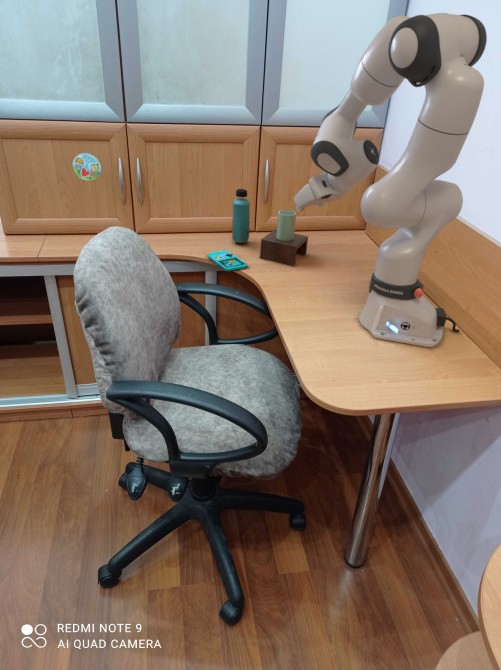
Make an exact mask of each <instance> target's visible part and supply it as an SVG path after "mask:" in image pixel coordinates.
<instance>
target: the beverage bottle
mask: <svg viewBox="0 0 501 670" xmlns="http://www.w3.org/2000/svg"><path fill="white" fill-rule="evenodd" d="M235 197H237V198H235V199H234V200H233V201H232V221H231V222H232V225H231V226H232V227H231V236H232V237H231V240H232V241H234V242H236V243H246V242H248V241H249V239H250V222H251V221H250V219H251V218H250V217H251V212H250V211H251V210H250V209H251V202H250V201H249V200H248V198H247V197H248V189H246V188H238V189H236V190H235Z"/></svg>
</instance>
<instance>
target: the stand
mask: <svg viewBox="0 0 501 670" xmlns="http://www.w3.org/2000/svg"><path fill="white" fill-rule="evenodd" d="M276 233H277V229H273V230H272V231H270V232H269V233H267V234H266V235H265V236H264V237H262V238H261V239H260V249H259V250H260V251H259V252H260V253H259V259H262V260H267V261H271V262H275V263H280V264H284V265H287V266H292V267H295V266H296V260H297V255H299V256H306V255H307V250H308V241H309V235H303V234H299V233H295V232H294V239H293V240H291V241H282V240H279V239H277V238H276Z"/></svg>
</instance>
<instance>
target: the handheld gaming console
mask: <svg viewBox="0 0 501 670" xmlns="http://www.w3.org/2000/svg"><path fill="white" fill-rule="evenodd" d="M207 258H208V259H209V260H211V261H212V262H213V263H214V264H216V265H217V266H219V267H220V268H221V269H223V270H224V271H226V272H233V271H235V270H240V269H245V268H247V267H248V263H246V262H245V261H244V260H242V259H241V258H240V257H238V256H236V255H235V254H233V253H232V252H230V251H229V250H227V249H224V250H223V249H222V250H218V251H211V252H210V253H208V254H207Z"/></svg>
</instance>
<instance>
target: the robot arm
mask: <svg viewBox="0 0 501 670" xmlns="http://www.w3.org/2000/svg"><path fill="white" fill-rule="evenodd" d="M487 40H488V36H487V29H486V27H485V25H484V23H483V22H482V21H481V20H479V18H477V17H474V16H473V15H469V14H452V13H447V12H437V13H430V14H426V15H425V14H417V15H414V16H407V15H396V16H393V17H392V18H390V19H389V20H388V21H387V22H386V23H385V24H384V25H383V26H382V28H380V30H379V31H378V32H377V33H376V35H375V36H374V38H373V39H372V40H371V42H370V43H369V45H368V46H367V47H366V49H365V50H364V51H363V54H362V56H361V57H360V59H359V61H358V63H357V65H356V66H355V69H354V71H353V74H352V76H351V79H350V82H349V84H350V88H349V89H348V91H347V93H346V94H345V95H344V97H343V99H342V100H341V102H340V103H339V104H338V105H337V106H336V107H334V108H333V109H331V110H330V111H328V112H327V113H326V114H325V115H324V116H323V117H322V120H321V122H320V123H321V124H320V126H319V129H318V132H317V134H316V136H315V139H314V141H313V144H312V146H311V149H310V158H311V160H312V162H313V163H314V165H315V166H316V167H318V168H319V169H321V170H322V171H323V172H321V173H319V174H317V175H314V176H312V177H311V178H310V179H309V180H308V183H307V184H305V185H304V186H303V187H302V188H301V189H300V190H299V191H298V192H297V193H296V194H295V195H294V197H293V201H294V203H295V205H296V206H295V209H296V211H297V212H302V211H304V209H305V208H309V207H312V206H317V207H323V206H324V205H325V204H328V203H330V202H335V201H339V200H341V199H344V197H346V196H347V195H348V194H349V193H350V192H351V191H352V190H353V189H354V188H355V186H356V185H357V184H360V183H361V182H363V181H364V180H365V179H366V178H367V177H369V176H370V175H371V174H372V173H373V172H374V171H375V170H376V168H377V167H378V164H379V161H380V154H379V150H378V147H377V146H376V145H375V143H374V142H373V141H371V140H370V139H362V140H361V139H360V140H358V139H354V136H355V134H356V131H357V127H358V119H360V117H361V115H362V114H363V112H364V111H365V110H366V108H368V106H371V107H372V106H373V107H374V106H381V105H383V104H384V103H386V102H387V101H388V100H389V99H390V98H391V97H392V96H393V95H394V94H395V93H396V92H397V90H398V89H399V87H400V86H401V85H402V84H403V82H404V80H407V81H408V83H409V84H411V86H413V87H414V88H421V87H423V86H424V89H425V97H424V99H423V100H424V101H423V104H422V106H421V109H420V111H419V115H418V117H417V119H416V123H415V125H414V128H413V130H412V133H411V134H410V135H411V136H410V138H409V141H408V143H407V145H406V148H405V150H404V151H403V153H402V154H401V156H400V158H399V160H397V162H396V163H395V164H394V166H393V167H392V168H391V169H390V170H388V172H387V173H386V174H385V175H384V176H383V177H381V178H380V179H379V180H377V181H376V182H374V183H373V184H370V185H369V186H368V187H367V188H366V189H365V191H364V192H363V194H362V196H361V199H360V214H361V216H362V218H363V220H364V222H365V223H366V224H367V225H368V226H371V227H377V228H383V229H397V230H396V231H395V233H393V234H392V235H391V236H390V237H388V238H386V239H385V240H384V241H383V242H382V243H381V244H380V246H379V248H378V250H377V256H376V261H375V266H374V271H373V272H372V273H371V276H370V280H369V284H368V285H369V286H368V296H367V299H366V301H365V305H364V306H363V309H362V311H361V313H360V315H358V321H359V323H360V325H361V326H362V327H363V328H365V329H366V330H367V331H368V332H369V333H370V334H371V335H372V337H373V338H375V339H378V340H385V341H391V342H396V343H401V344H406V345H407V344H408V345H412V346H419V347H425V348H434V347H436V346H438V345H439V344H440V343H441V341H442V339H443V334H444V327H445V325H446V322H447V321H448V322H450V323H452V331H453V332H454V333H459V332H460V328H459V329H457V328H456V327H457V323H456V321H455V320H453V319H452V318H450V317H448V316H447V313H446V311H445V308H443V307H435V306H434V305H433V304H432V303H431V302H430V301H429V300H428V299H427V298H426V297H425V296H424V280H422V281H420V280H419V279H418V277H419V273H420V270H421V266H422V263H423V261H424V256H425V254H426V252H427V250H428V248H429V247H430V245H431V244H432V242H433V241H434V239H435V238H436V236H438V234H439V233H440V232H441V231H442V229H444V228H445V227H446V226H447V225H448V224H450V223H451V222H453V221H454V220H456V219H457V217H458V216H459V215H460V213H461V211H462V208H463V203H464V197H463V193H462V189H461V188H460V187H459V185H458V184H456V183H454V182H450V181H448V180H443V179H442V180H441V179H438V177H440V176H442V175H443V174H445V173H447V172H448V171H450V170H451V169H452V168H453V167H454V165H456V163H457V160H458V158H459V156H460V154H461V152H462V149H463V147H464V145H465V143H466V140H467V138H468V135H469V134H470V131H471V129H472V127H473V124H474V122H475V119H476V117H477V113H478V111H479V108H480V104H481V101H482V96H483V93H484V88H485V79H484V77H483V75H482V74H481V72H480V71H479V70H478V69H476V68H475V67H473V66H474V65H476V64H477V63H478V62H479V60H480V59H481V58H482V56H483V54H484V53H485V50H486V46H487Z"/></svg>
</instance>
